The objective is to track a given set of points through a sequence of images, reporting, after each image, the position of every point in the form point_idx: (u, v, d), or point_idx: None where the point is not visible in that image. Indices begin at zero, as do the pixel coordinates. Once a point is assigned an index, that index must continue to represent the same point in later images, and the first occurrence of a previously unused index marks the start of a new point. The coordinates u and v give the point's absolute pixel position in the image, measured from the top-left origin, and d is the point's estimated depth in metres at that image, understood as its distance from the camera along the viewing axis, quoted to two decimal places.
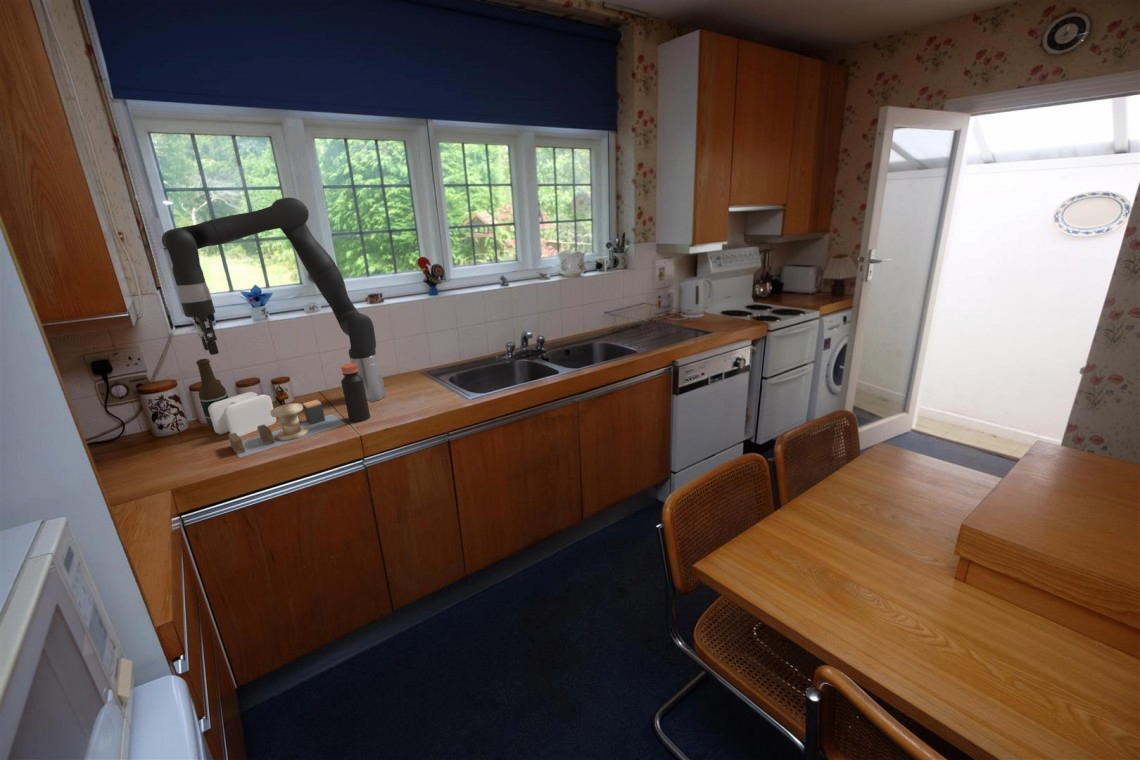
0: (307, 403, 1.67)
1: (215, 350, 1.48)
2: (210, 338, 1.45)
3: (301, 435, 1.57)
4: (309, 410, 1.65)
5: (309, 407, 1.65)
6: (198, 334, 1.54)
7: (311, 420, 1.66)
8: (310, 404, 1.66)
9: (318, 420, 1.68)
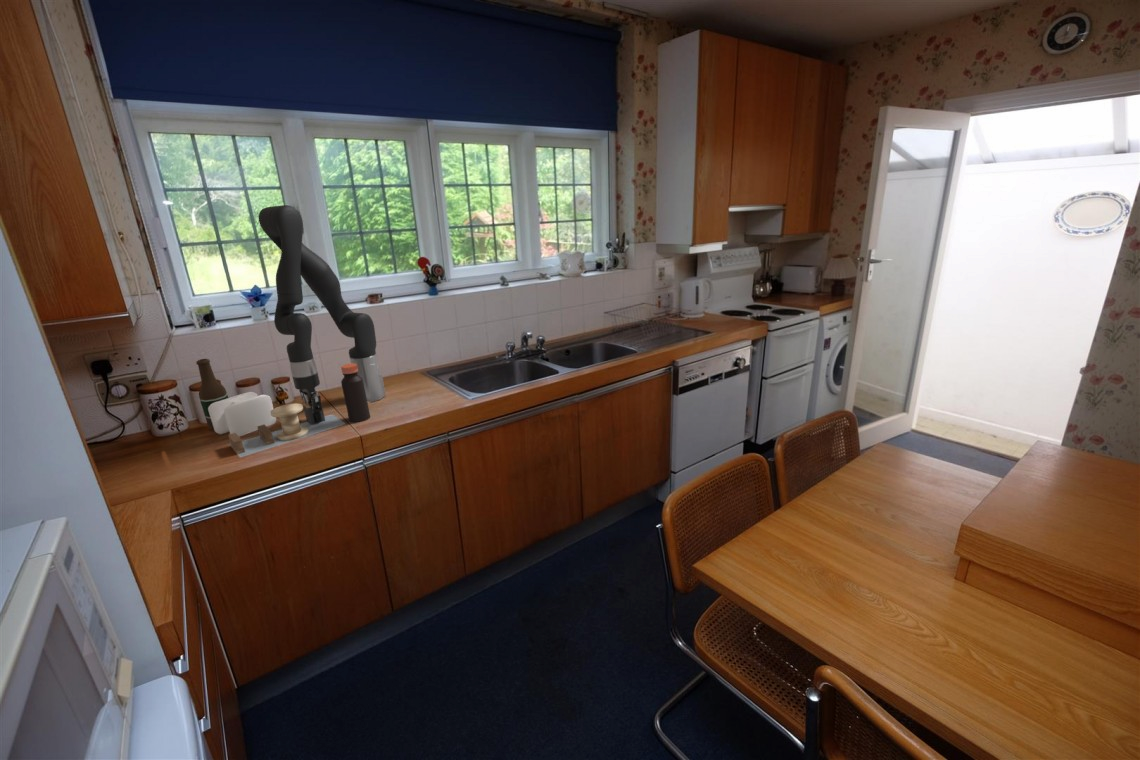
0: (307, 403, 1.67)
1: (319, 419, 1.67)
2: (317, 409, 1.64)
3: (301, 435, 1.57)
4: (309, 410, 1.65)
5: (309, 407, 1.65)
6: None
7: (311, 420, 1.66)
8: None
9: None
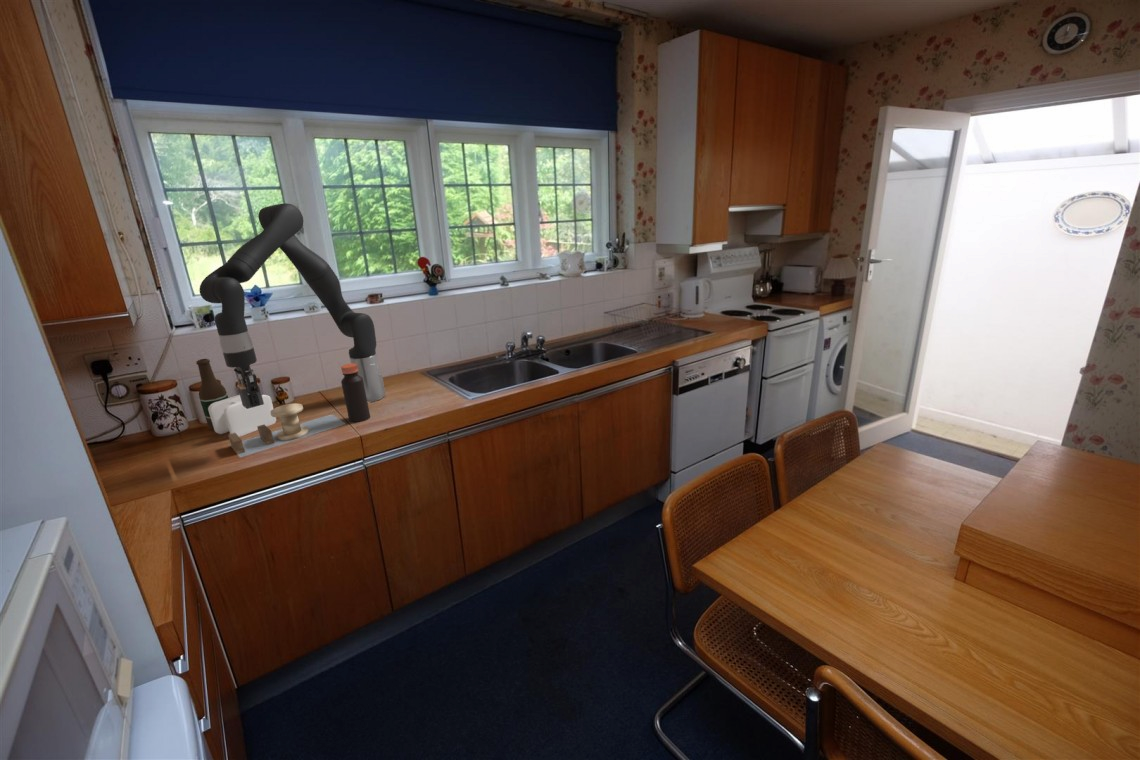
0: None
1: (257, 402, 1.44)
2: (252, 391, 1.41)
3: (301, 435, 1.57)
4: (243, 392, 1.42)
5: (243, 388, 1.42)
6: None
7: (246, 403, 1.44)
8: None
9: None
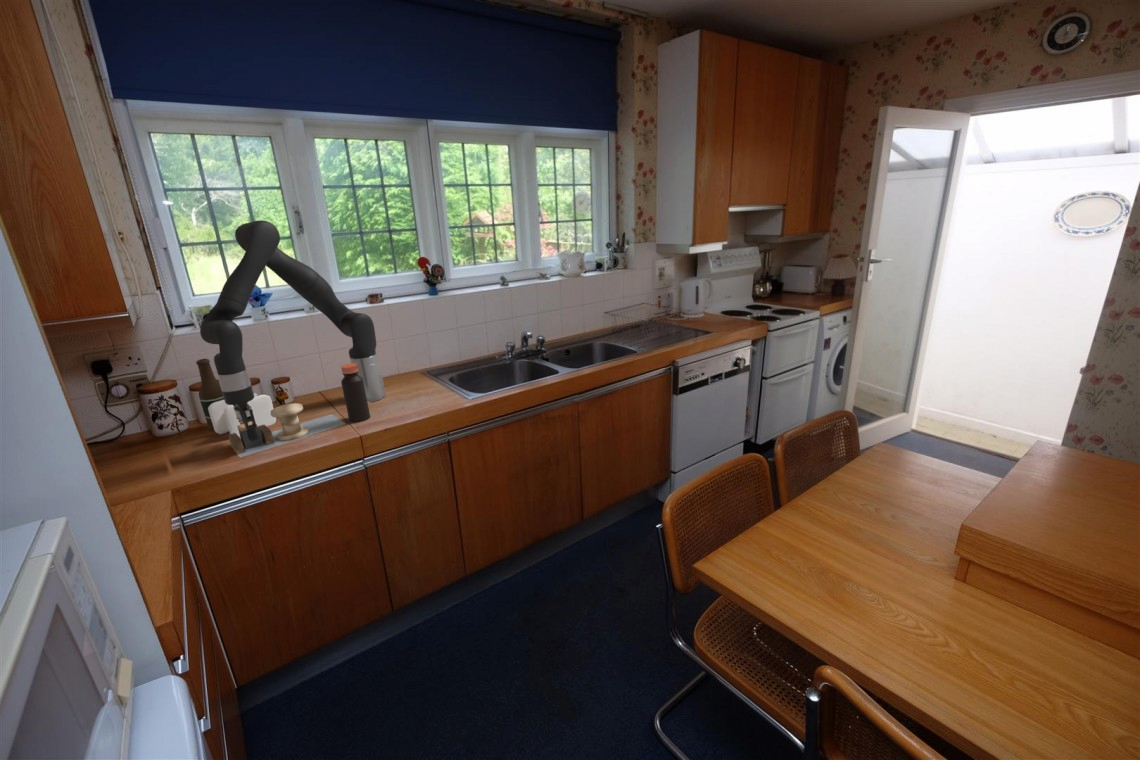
0: (242, 425, 1.51)
1: (254, 436, 1.49)
2: (250, 426, 1.46)
3: (301, 435, 1.57)
4: (243, 433, 1.49)
5: (243, 430, 1.49)
6: (237, 418, 1.54)
7: (246, 444, 1.50)
8: None
9: (254, 444, 1.52)
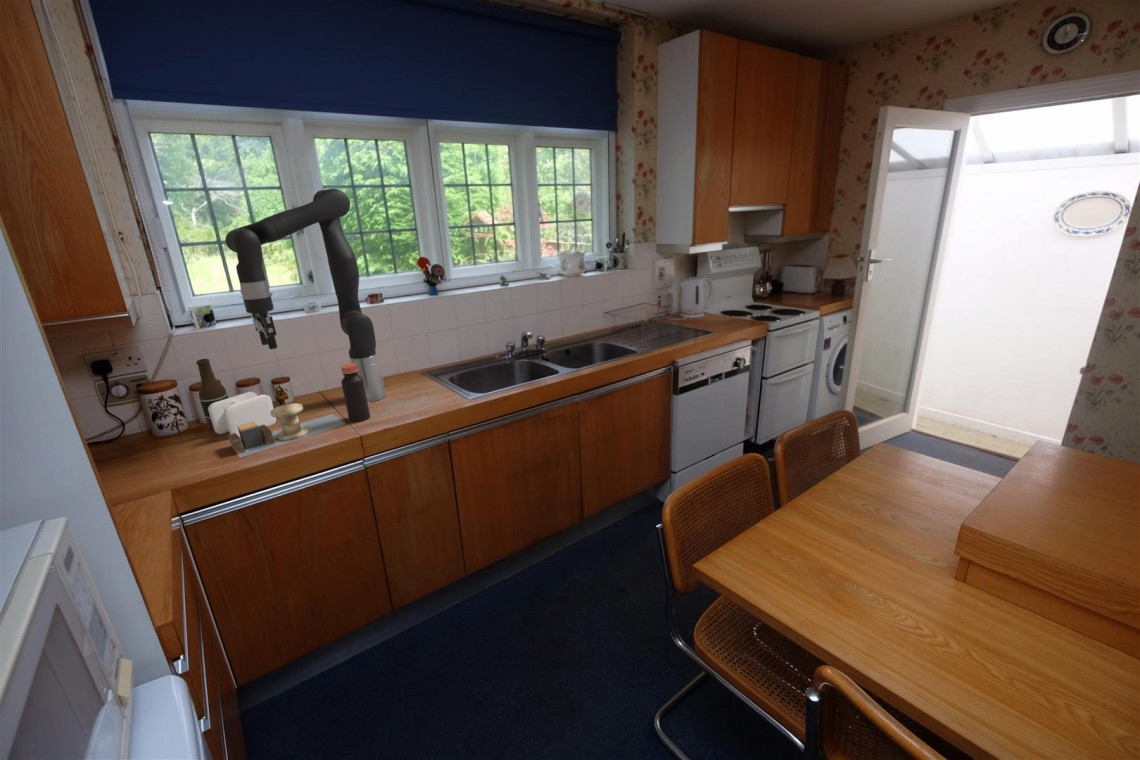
0: (242, 425, 1.51)
1: (274, 345, 1.55)
2: (271, 333, 1.53)
3: (301, 435, 1.57)
4: (243, 433, 1.49)
5: (243, 430, 1.49)
6: (256, 330, 1.61)
7: (246, 444, 1.50)
8: (245, 427, 1.50)
9: (254, 444, 1.52)
